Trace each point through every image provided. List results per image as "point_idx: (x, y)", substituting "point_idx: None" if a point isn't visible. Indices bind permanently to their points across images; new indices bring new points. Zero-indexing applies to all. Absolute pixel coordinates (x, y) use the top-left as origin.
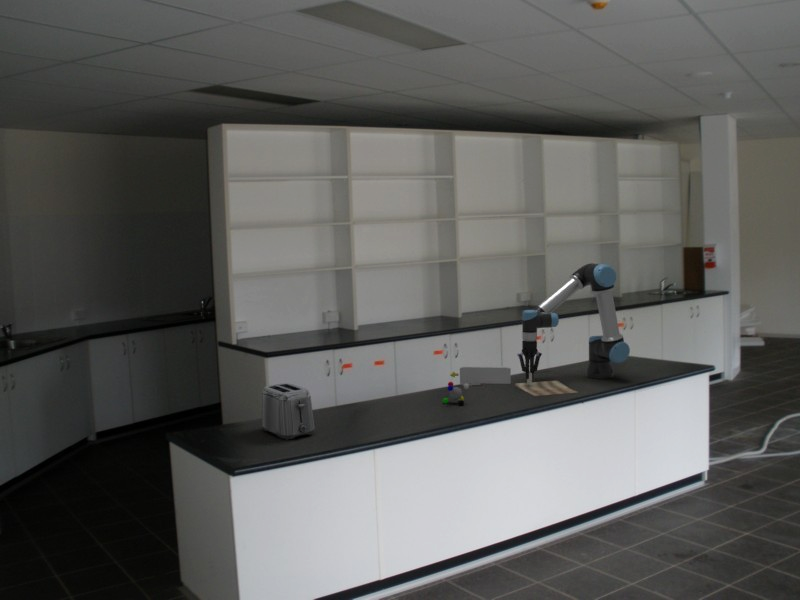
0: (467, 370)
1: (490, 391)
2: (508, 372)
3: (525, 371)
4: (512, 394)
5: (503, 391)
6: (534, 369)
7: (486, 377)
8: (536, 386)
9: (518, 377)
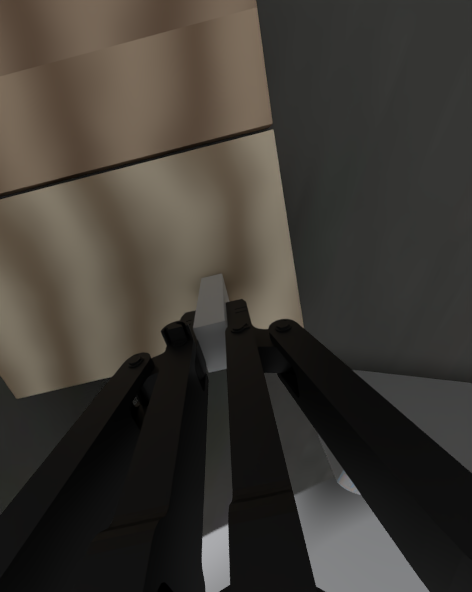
0: None
1: (469, 244)
2: None
3: (274, 324)
4: (375, 124)
5: (394, 236)
6: (153, 373)
7: (455, 412)
8: (168, 269)
9: (225, 498)
